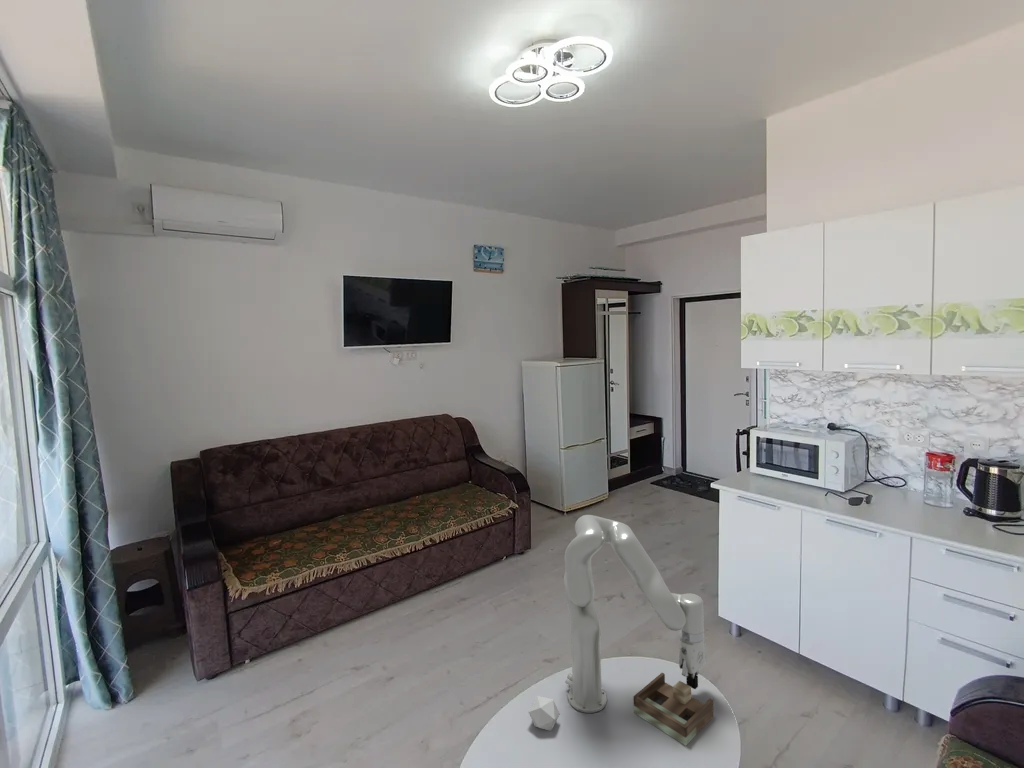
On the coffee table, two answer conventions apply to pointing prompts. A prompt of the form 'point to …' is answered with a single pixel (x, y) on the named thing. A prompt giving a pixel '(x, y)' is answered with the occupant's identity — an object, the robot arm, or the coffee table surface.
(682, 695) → the maple block
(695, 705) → the box
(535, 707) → the die
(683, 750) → the coffee table surface
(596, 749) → the coffee table surface
